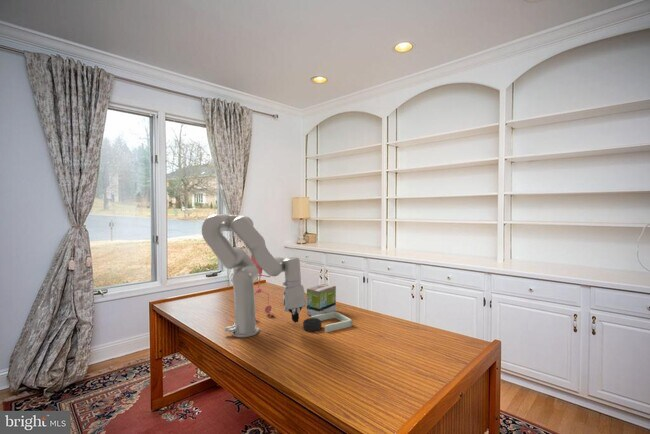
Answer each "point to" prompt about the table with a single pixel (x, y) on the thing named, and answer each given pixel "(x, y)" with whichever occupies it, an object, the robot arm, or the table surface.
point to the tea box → (321, 299)
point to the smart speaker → (312, 324)
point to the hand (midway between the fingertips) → (295, 321)
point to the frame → (335, 326)
